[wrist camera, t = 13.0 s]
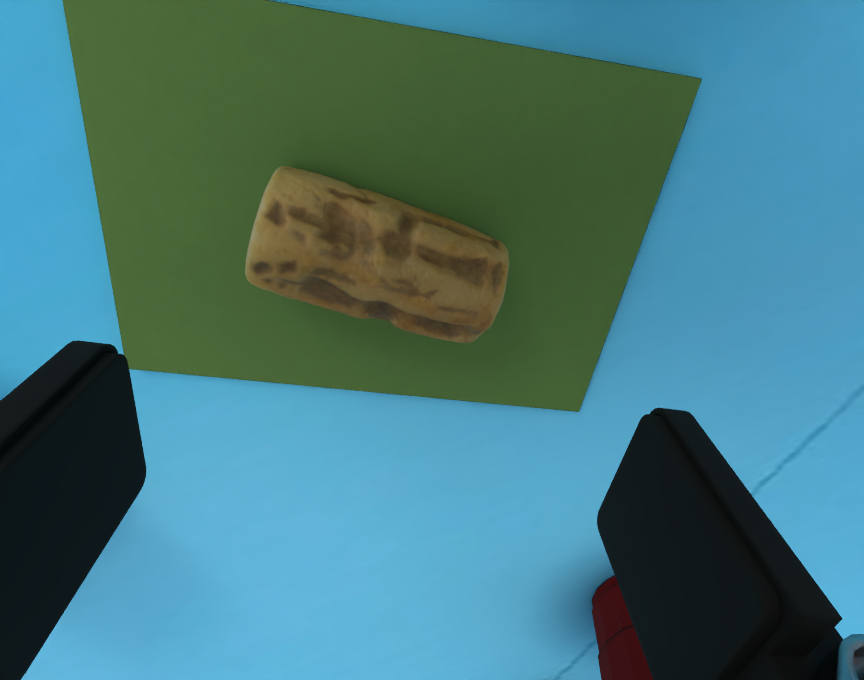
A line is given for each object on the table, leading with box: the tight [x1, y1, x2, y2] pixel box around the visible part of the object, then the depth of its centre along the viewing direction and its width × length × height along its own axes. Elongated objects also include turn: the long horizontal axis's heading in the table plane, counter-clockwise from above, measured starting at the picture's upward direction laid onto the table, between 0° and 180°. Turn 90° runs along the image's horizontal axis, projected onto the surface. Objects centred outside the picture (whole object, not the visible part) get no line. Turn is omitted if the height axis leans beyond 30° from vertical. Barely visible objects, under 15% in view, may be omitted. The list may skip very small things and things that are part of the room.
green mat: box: [63, 0, 701, 412], centre depth 19 cm, size 20×14×1 cm
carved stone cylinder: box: [245, 166, 509, 343], centre depth 17 cm, size 8×4×4 cm, turn 69°
